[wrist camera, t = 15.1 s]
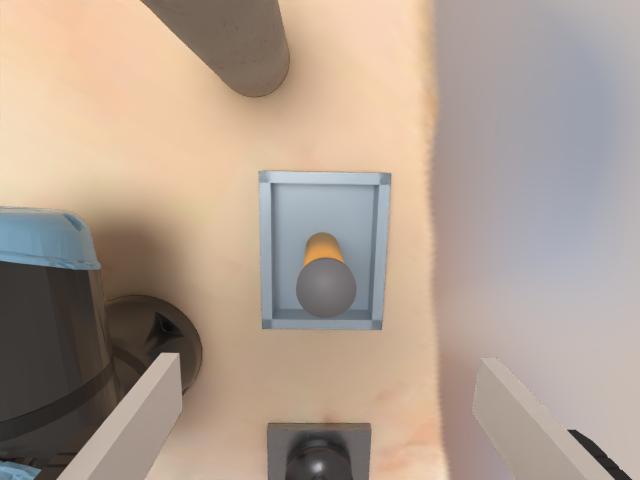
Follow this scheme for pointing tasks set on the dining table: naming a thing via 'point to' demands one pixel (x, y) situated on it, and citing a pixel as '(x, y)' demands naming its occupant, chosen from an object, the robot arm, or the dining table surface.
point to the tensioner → (318, 451)
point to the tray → (330, 217)
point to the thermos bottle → (232, 39)
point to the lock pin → (325, 279)
